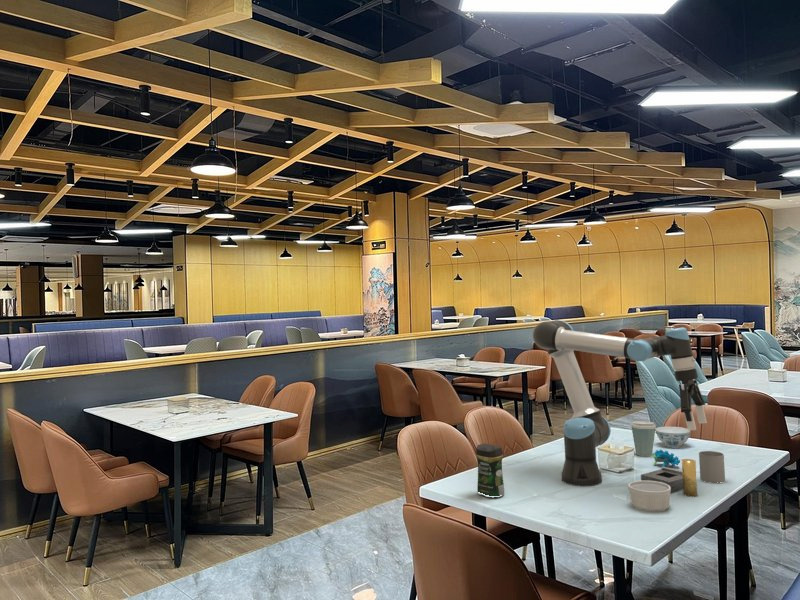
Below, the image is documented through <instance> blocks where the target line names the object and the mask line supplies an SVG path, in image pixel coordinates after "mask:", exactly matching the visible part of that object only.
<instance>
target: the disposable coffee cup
mask: <svg viewBox="0 0 800 600" xmlns="http://www.w3.org/2000/svg"><path fill="white" fill-rule="evenodd" d="M630 426H631V427H630V428H631V432H632V439H633V444H634V448H635V454H636V455H637V456H639V457H645V458H646V457H647V456H648V457H651V456H652V455H653V450H654V444H655V443H654V442H655V434H656V430H655V429H656V428H657V426H656V423H655V422H652V421H639V420H638V421H633V422H632V423H630ZM648 457H647V458H648Z"/></svg>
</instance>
